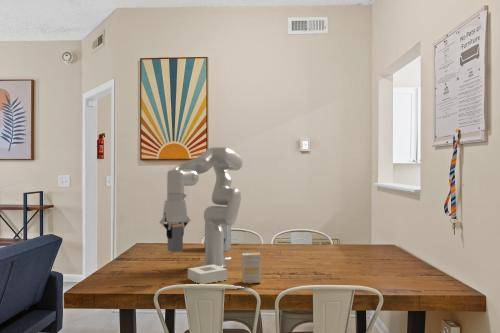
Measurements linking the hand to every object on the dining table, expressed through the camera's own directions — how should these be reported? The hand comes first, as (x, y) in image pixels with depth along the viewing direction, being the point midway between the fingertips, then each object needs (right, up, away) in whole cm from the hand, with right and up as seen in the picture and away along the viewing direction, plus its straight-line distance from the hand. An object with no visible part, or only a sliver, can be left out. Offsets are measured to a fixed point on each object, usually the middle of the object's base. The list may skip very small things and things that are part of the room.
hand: (175, 237), depth 182 cm
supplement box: (+34, -21, +1) cm, 40 cm away
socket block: (+14, -20, +4) cm, 25 cm away
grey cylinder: (0, -6, 0) cm, 6 cm away
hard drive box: (+13, -21, +74) cm, 79 cm away
